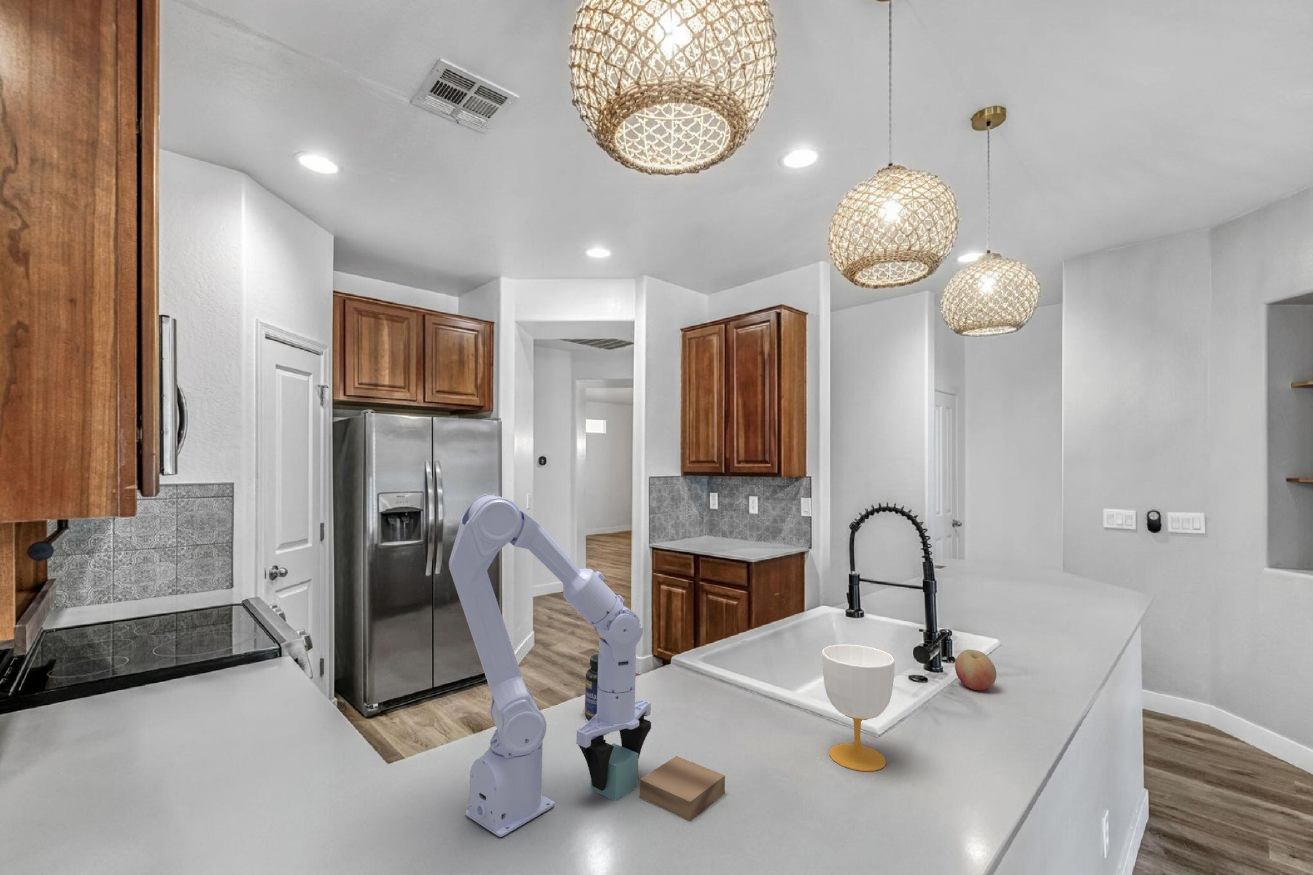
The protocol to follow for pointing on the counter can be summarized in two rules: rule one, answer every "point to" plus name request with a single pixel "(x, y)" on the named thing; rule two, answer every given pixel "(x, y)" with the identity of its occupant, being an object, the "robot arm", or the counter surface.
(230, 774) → the counter surface
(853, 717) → the cup
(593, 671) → the pill bottle
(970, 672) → the fruit
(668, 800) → the walnut block
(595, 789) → the teal cube
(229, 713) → the counter surface
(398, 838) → the counter surface
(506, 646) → the robot arm
